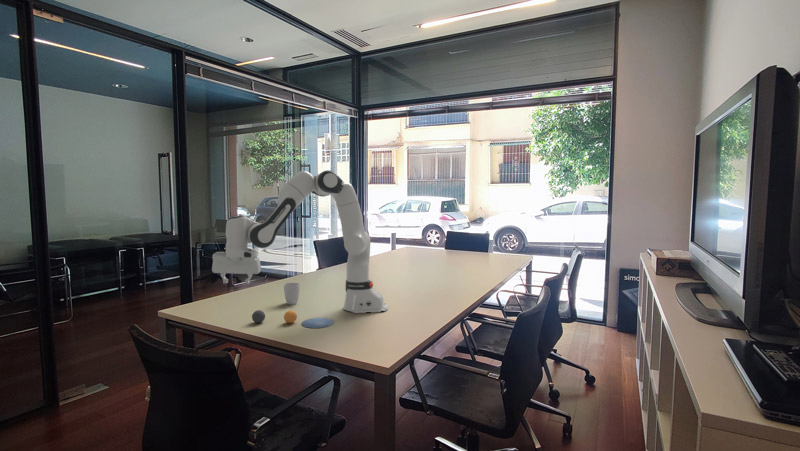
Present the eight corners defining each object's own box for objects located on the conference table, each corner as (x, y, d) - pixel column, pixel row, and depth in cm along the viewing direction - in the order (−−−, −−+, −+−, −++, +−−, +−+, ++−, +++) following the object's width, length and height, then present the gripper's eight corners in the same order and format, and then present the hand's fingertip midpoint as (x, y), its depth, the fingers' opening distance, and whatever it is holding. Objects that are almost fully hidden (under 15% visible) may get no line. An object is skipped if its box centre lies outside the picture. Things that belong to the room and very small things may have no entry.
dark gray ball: (266, 320, 177) (266, 308, 176) (262, 324, 171) (262, 312, 171) (254, 320, 176) (254, 308, 176) (250, 324, 171) (249, 312, 171)
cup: (303, 302, 208) (302, 283, 208) (294, 306, 201) (294, 286, 200) (289, 300, 211) (289, 282, 210) (280, 304, 203) (280, 285, 203)
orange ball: (298, 320, 177) (298, 309, 176) (295, 324, 171) (295, 312, 171) (285, 320, 177) (285, 308, 176) (282, 324, 171) (282, 312, 171)
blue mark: (335, 318, 181) (335, 317, 181) (330, 328, 167) (330, 328, 167) (305, 318, 181) (305, 317, 181) (298, 328, 167) (297, 327, 167)
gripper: (209, 252, 169) (209, 284, 170) (257, 254, 170) (257, 285, 171) (215, 250, 175) (215, 281, 176) (262, 251, 176) (261, 282, 177)
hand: (236, 283), depth 174 cm, fingers open, 8 cm apart
